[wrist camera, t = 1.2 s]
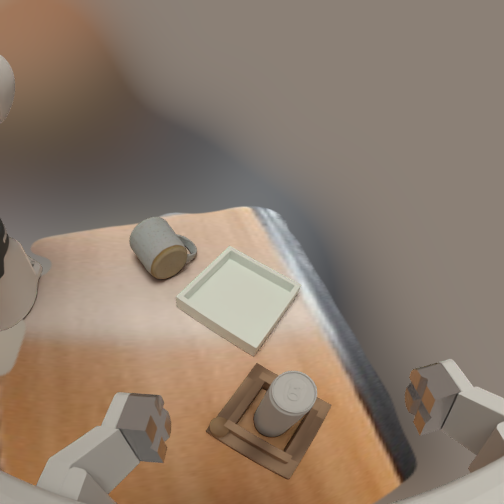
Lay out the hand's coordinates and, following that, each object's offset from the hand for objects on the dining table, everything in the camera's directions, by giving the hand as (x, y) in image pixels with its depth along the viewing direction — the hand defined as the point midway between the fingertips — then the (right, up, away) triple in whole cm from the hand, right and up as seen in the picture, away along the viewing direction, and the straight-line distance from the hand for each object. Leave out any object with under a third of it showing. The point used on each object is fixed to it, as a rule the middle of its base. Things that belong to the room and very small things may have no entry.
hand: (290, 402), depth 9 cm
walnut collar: (+1, -17, +27) cm, 32 cm away
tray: (-3, -3, +40) cm, 41 cm away
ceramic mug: (-16, +3, +45) cm, 48 cm away
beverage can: (+1, -17, +27) cm, 32 cm away
